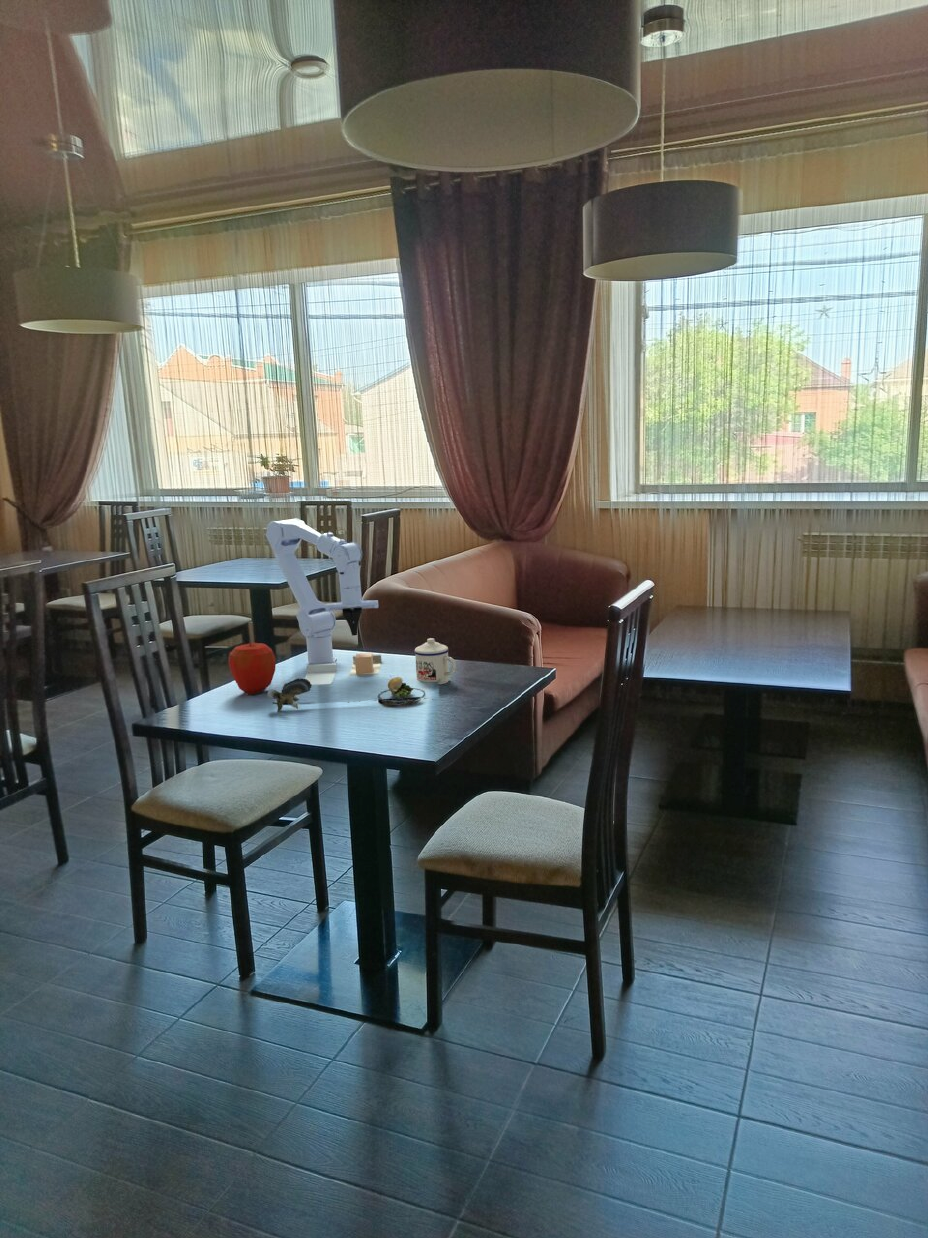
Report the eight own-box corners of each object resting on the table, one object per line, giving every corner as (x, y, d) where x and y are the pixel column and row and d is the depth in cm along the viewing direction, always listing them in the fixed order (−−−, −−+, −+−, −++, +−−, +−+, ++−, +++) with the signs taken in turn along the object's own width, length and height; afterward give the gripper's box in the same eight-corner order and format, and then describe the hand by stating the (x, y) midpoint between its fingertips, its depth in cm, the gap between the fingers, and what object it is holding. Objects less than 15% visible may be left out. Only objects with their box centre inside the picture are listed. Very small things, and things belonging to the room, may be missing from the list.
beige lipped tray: (353, 665, 251) (353, 655, 250) (381, 664, 251) (381, 654, 250) (349, 678, 237) (348, 668, 236) (378, 677, 237) (378, 666, 237)
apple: (272, 698, 223) (267, 644, 220) (226, 700, 223) (220, 646, 220) (283, 685, 235) (278, 634, 232) (239, 686, 235) (234, 636, 232)
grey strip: (308, 675, 243) (307, 664, 242) (337, 673, 243) (336, 663, 242) (301, 689, 229) (300, 678, 228) (331, 687, 229) (330, 676, 229)
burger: (418, 708, 209) (417, 678, 208) (371, 707, 212) (369, 678, 210) (430, 694, 221) (429, 665, 219) (385, 693, 223) (384, 665, 222)
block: (357, 669, 242) (356, 653, 242) (373, 668, 243) (372, 652, 242) (356, 673, 238) (354, 657, 237) (372, 672, 238) (371, 656, 237)
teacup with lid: (409, 683, 230) (406, 641, 228) (429, 675, 237) (427, 633, 235) (445, 689, 223) (443, 645, 221) (466, 680, 230) (463, 637, 228)
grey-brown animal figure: (298, 709, 208) (319, 691, 216) (278, 684, 207) (300, 667, 215) (278, 723, 212) (300, 705, 220) (258, 699, 212) (281, 681, 220)
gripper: (322, 591, 237) (327, 639, 240) (375, 587, 237) (379, 635, 240) (325, 587, 244) (330, 634, 247) (377, 583, 244) (381, 630, 247)
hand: (354, 634), depth 244 cm, fingers closed
